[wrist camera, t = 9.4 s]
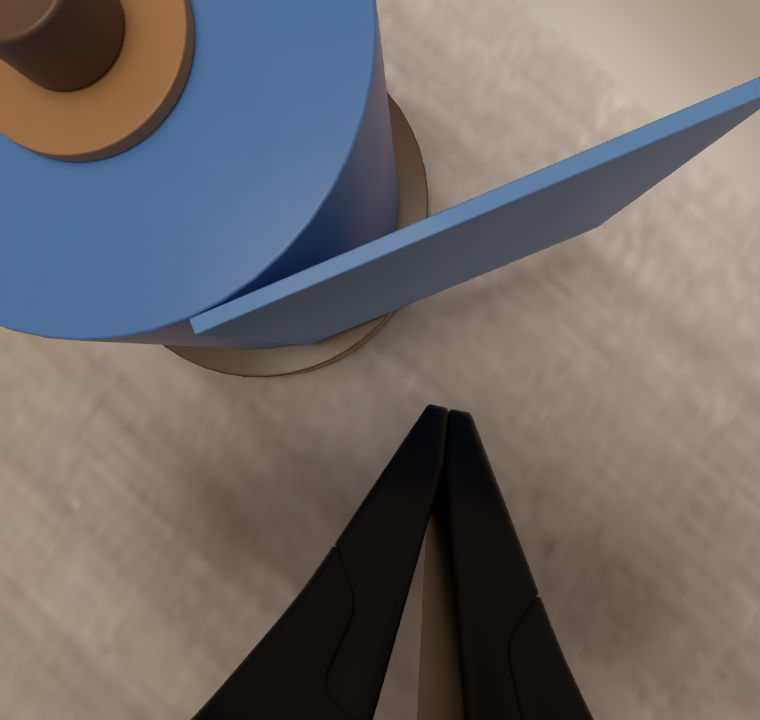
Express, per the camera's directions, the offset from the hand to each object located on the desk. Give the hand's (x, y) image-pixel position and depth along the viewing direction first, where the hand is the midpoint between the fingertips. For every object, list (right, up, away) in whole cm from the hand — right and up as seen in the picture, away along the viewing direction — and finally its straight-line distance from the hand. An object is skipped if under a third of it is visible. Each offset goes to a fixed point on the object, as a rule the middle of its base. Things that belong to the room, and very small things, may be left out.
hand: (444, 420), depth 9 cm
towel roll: (-3, +7, +7) cm, 10 cm away
